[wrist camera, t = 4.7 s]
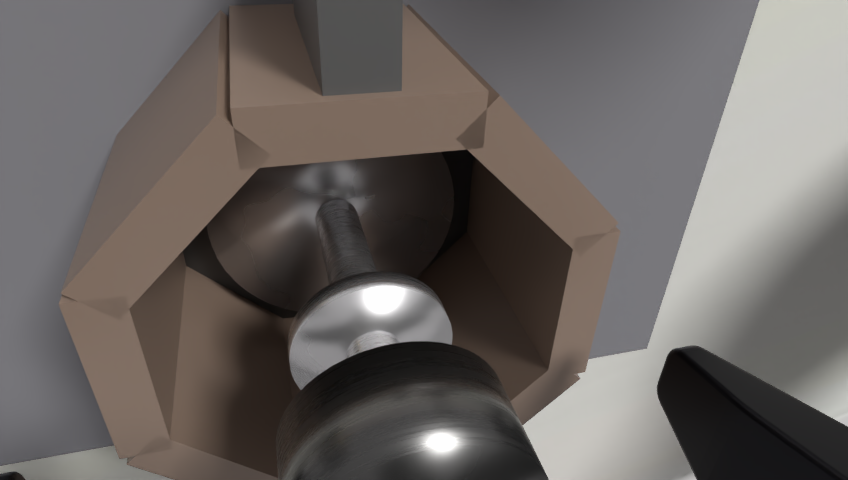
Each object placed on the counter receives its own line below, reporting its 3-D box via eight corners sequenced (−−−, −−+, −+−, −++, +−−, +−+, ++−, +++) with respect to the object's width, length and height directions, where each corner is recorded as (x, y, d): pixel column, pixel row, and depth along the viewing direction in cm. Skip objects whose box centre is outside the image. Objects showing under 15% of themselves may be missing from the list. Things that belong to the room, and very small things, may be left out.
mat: (800, -165, 12) (812, -164, 12) (641, 342, 20) (646, 348, 20) (-490, -218, 8) (-512, -219, 8) (-48, 465, 16) (-53, 475, 15)
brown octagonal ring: (535, -143, 11) (710, -123, 7) (484, 306, 17) (563, 454, 13) (33, -156, 9) (-118, -140, 5) (172, 354, 15) (153, 544, 11)
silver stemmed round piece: (449, 77, 13) (676, 338, 6) (438, 277, 16) (585, 592, 9) (185, 94, 11) (133, 435, 5) (227, 306, 14) (226, 693, 8)
